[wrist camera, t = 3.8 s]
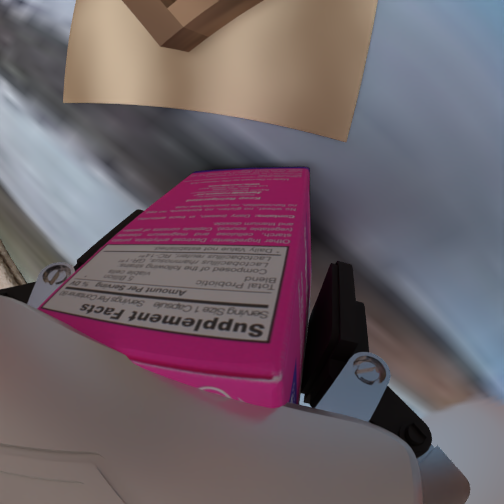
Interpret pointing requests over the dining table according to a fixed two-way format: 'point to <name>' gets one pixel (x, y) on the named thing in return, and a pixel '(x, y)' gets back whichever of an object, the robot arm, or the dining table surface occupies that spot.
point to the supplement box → (207, 285)
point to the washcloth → (8, 270)
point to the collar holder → (225, 58)
